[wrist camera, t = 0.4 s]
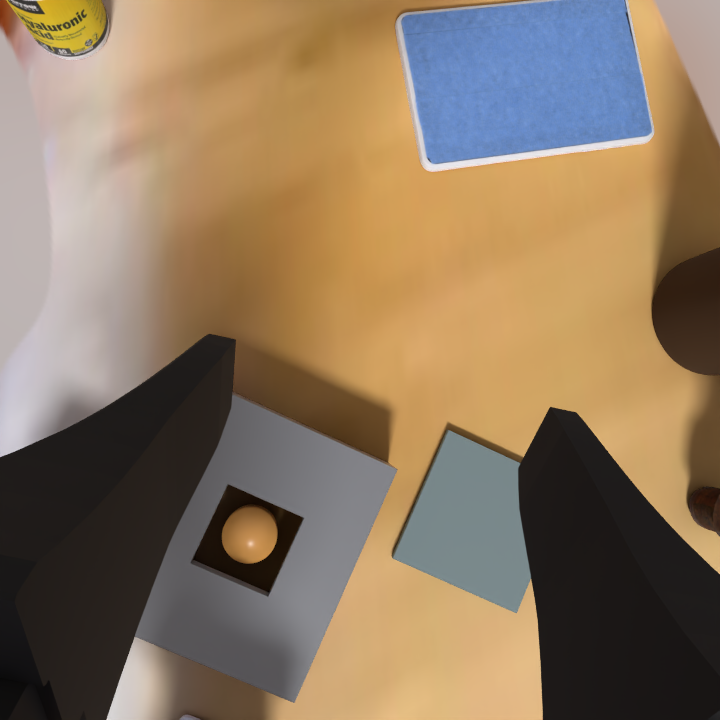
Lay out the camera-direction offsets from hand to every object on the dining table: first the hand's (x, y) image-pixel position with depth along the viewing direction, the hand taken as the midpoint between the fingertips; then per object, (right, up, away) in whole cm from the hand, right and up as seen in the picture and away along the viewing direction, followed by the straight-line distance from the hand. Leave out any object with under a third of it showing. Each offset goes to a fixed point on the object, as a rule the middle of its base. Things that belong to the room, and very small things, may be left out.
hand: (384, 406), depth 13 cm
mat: (+8, -11, +29) cm, 32 cm away
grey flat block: (-8, -11, +27) cm, 30 cm away
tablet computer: (+12, +23, +32) cm, 41 cm away
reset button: (-8, -11, +25) cm, 29 cm away
